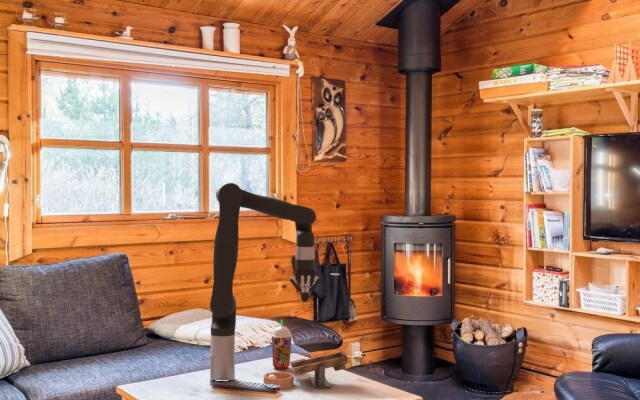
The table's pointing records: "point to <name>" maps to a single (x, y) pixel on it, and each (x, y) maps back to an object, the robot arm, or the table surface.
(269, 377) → the ball
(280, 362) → the smoothie
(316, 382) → the stand
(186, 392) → the table surface
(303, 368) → the lever
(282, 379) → the orange bowl
